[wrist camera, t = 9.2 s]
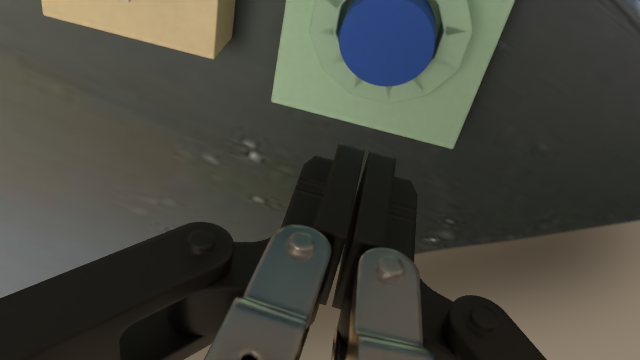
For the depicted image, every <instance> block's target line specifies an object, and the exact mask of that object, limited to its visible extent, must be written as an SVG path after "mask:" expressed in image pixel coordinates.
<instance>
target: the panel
mask: <svg viewBox="0 0 640 360" xmlns="http://www.w3.org/2000/svg"><path fill="white" fill-rule="evenodd" d="M42 8H43V14H44V15H45V16H48V17H52V18H56V19H60V20H64V21H68V22H72V23H75V24H79V25H83V26H87V27H91V28H95V29H98V30H102V31H106V32H110V33H114V34H118V35H122V36H125V37H129V38H133V39H137V40H141V41H145V42H149V43H152V44H156V45H160V46H164V47H168V48H172V49H175V50H179V51H183V52H187V53H191V54H195V55H199V56H202V57H206V58H210V59H214V58H215V57H216V56H217V55H218V54H219V52H220V51H221V50H222V49H223V48H224V46H225V45H226V44H227V43H228V42H229V41H230V39H231V38H232V32H233V21H234V11H235V0H42Z"/></svg>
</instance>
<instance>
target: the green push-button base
mask: <svg viewBox="0 0 640 360" xmlns="http://www.w3.org/2000/svg"><path fill="white" fill-rule="evenodd" d="M353 1H354V0H286V5H285V12H284V19H283V25H282V32H281V38H280V45H279V52H278V58H277V65H276V71H275V78H274V85H273V91H272V98H271V102H274V103H278V104H282V105H285V106H289V107H293V108H297V109H301V110H304V111H308V112H312V113H316V114H320V115H324V116H327V117H331V118H335V119H339V120H343V121H347V122H350V123H354V124H358V125H362V126H366V127H370V128H373V129H377V130H381V131H385V132H389V133H393V134H396V135H400V136H404V137H408V138H412V139H415V140H419V141H423V142H427V143H431V144H435V145H438V146H442V147H446V148H450V149H453V148H454V146H455V143H456V141H457V138H458V136H459V134H460V131H461V129H462V126H463V124H464V122H465V119H466V117H467V114H468V112H469V110H470V107H471V105H472V103H473V100H474V98H475V95H476V93H477V91H478V88H479V86H480V83H481V81H482V79H483V76H484V74H485V71H486V69H487V67H488V64H489V62H490V59H491V57H492V55H493V52H494V50H495V47H496V45H497V43H498V40H499V38H500V35H501V33H502V31H503V28H504V26H505V24H506V21H507V19H508V16H509V14H510V12H511V9H512V7H513V4H514V2H515V0H427V1H428V3H429V4H430V6H431V8H432V10H433V13H434V16H435V22H436V40H435V49H434V53H433V56H432V58H431V61H430V62H429V64H428V66H427V67H426V68H425V69H424V71H423V72H422V73H421V74H420V75H418V76H417V77H416V78H414V79H412V80H411V81H409V82H406V83H404V84H401V85H397V86H388V87H385V86H377V85H373V84H370V83H367V82H365V81H363V80H362V79H360V78H358V77H357V76H356V75H355V74H354V73H353V72H352V71H351V70H350V69H349V68H348V67H347V65H346V64H345V62H344V60H343V58H342V55H341V52H340V47H339V34H340V29H341V25H342V23H343V20H344V18H345V16H346V13H347V11H348V9H349V7H350V5H351V3H352V2H353Z"/></svg>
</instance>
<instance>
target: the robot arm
mask: <svg viewBox="0 0 640 360" xmlns="http://www.w3.org/2000/svg"><path fill="white" fill-rule="evenodd" d="M364 151H365V150H364V149H360V148H356V147H352V146H349V145H345V144H341V143H339V145H338V148H337V152H336V155H335V159H334V161H333V160H329V159H326V158H322V157H318V156H314V157H313V158H312V159H311V160H309V161H308V162H307V163H305V164H304V166H303V168H302V171H301V174H300V177H299V179H298V182H297V185H296V188H295V191H294V193H293V196H292V199H291V202H290V204H289V207H288V210H287V213H286V215H285V218H284V221H283V224H282V226H281V228H280V229H278V230H277V231H276V232H275V233H274V234H273V235H272V237H270V238H268V239H266V240H263V241H258V242H233V239H232V237H231V235H230V234H229V233H228V232H227V231H226V230H225V229H223V228H222V227H220V226H218V225H215V224H212V223H207V222H194V223H189V224H186V225H183V226H180V227H178V228H175V229H173V230H170V231H168V232H165V233H163V234H160V235H158V236H155V237H153V238H150V239H148V240H145V241H143V242H140V243H138V244H135V245H133V246H130V247H128V248H125V249H123V250H120V251H118V252H115V253H113V254H110V255H108V256H105V257H103V258H100V259H98V260H95V261H93V262H90V263H88V264H85V265H83V266H80V267H78V268H75V269H73V270H70V271H68V272H65V273H63V274H60V275H58V276H55V277H53V278H50V279H48V280H45V281H43V282H40V283H38V284H35V285H33V286H30V287H28V288H25V289H23V290H20V291H18V292H15V293H13V294H10V295H8V296H5V297H3V298H0V360H184V359H185V358H187V357H189V356H191V355H193V354H194V353H196V352H198V351H200V350H201V349H203V348H205V347H206V346H208V345H210V344H211V347H210V348H209V350H208V352H207V354H206V356H205V359H204V360H299V359H300V356H301V353H302V350H303V346H304V343H305V341H306V338H307V334H308V332H309V328H310V325H311V324H312V323H313V322H314V320H315V317H316V314H317V311H318V307H319V304H323V305H326V303H327V300H328V297H329V293H330V290H331V287H332V284H333V280H334V277H335V274H336V271H337V267H338V264H339V261H340V258H341V254H342V251H343V248H344V251H343V256H342V261H341V265H340V271H339V275H338V280H337V285H336V290H335V295H334V299H333V304H332V307H335V308H339V309H341V313H340V318H339V322H338V325H337V328H336V331H335V334H334V339H333V348H332V358H331V360H546V358H545V357H544V356H543V355H542V354H541V353H540V352H539V350H538V349H537V348H536V347H535V346H534V345H533V343H532V342H531V341H530V340H529V339H528V338H527V336H526V335H525V334H524V333H523V332H522V331H521V330H520V329H519V327H518V326H517V325H516V324H515V323H514V322H513V320H512V319H511V318H510V317H509V316H508V315H507V313H505V312H504V310H503V309H502V308H500V307H499V306H498V305H497V304H495V303H493V302H492V301H490V300H488V299H486V298H483V297H479V296H473V295H469V296H468V295H466V296H462V297H460V298H458V299H456V300H455V301H454V302H452V301H451V300H449V299H447V298H445V297H444V296H442V295H440V294H438V293H437V292H435V291H433V290H432V289H431V288H429V287H428V286H427V285H426V284H425V283H424V282H423V281H422V280H421V279H420V276H419V272H418V269H417V267H416V265H415V264H414V249H415V230H416V212H417V211H416V209H417V193H416V191H415V189H414V187H413V185H412V183H411V181H409V180H406V179H402V178H398V177H394V173H395V164H396V158H395V157H391V156H387V155H383V154H380V153H376V152H372V151H370V152H369V155H368V158H367V161H366V164H365V168H364V171H363V174H362V178H361V181H360V184H359V188H358V191H357V194H356V190H357V185H358V180H359V176H360V171H361V166H362V161H363V156H364ZM355 195H356V198H355ZM354 200H355V201H354ZM353 204H354V205H353ZM344 244H345V246H344Z"/></svg>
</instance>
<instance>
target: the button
mask: <svg viewBox="0 0 640 360" xmlns="http://www.w3.org/2000/svg"><path fill="white" fill-rule="evenodd" d="M435 40H436V22H435V16H434V13H433V10H432V8H431V6H430V4H429V3H428V1H427V0H354V1H353V2H352V3H351V5H350V7H349V9H348V11H347V13H346V16H345V18H344V20H343V23H342V25H341V29H340V34H339V47H340V52H341V55H342V58H343V60H344V62H345V64H346V65H347V67H348V68H349V69H350V70H351V71H352V72H353V73H354V74H355V75H356V76H357V77H358V78H360V79H362V80H363V81H365V82H367V83H370V84H373V85H377V86H385V87H388V86H397V85H401V84H404V83H406V82H409V81H411V80H412V79H414V78H416V77H417V76H418V75H420V74H421V73H422V72H423V71H424V69H425V68H426V67H427V66H428V64H429V62H430V61H431V58H432V56H433V53H434V49H435Z"/></svg>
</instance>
